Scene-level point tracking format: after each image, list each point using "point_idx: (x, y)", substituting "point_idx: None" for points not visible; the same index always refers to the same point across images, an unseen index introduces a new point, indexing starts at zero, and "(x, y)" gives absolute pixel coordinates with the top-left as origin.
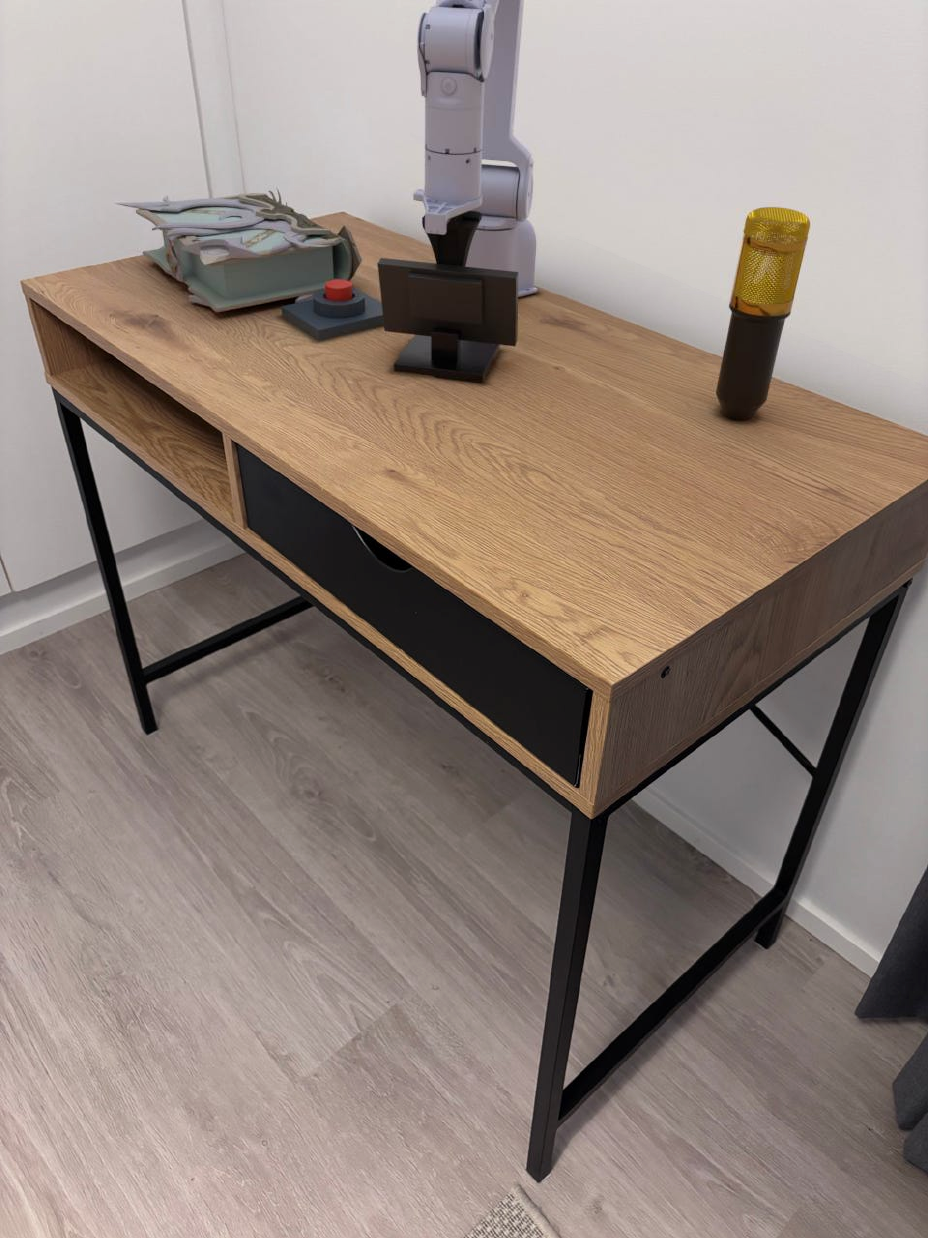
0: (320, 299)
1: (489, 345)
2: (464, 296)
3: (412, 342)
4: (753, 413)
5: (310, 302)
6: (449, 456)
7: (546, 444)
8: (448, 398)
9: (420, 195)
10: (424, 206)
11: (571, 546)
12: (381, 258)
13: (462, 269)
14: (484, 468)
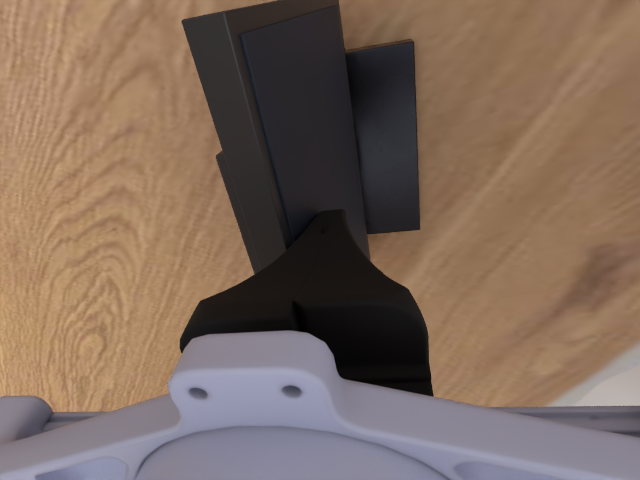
0: None
1: (402, 216)
2: None
3: (354, 60)
4: None
5: None
6: (56, 260)
7: (162, 337)
8: (195, 205)
9: (181, 409)
10: (116, 412)
11: (22, 379)
12: (219, 21)
13: None
14: (66, 298)
